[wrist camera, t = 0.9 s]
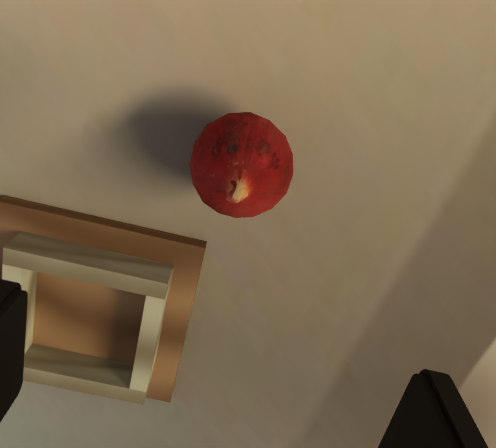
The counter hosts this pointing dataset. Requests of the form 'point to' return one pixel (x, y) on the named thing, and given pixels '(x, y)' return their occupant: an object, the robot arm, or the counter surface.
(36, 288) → the holder
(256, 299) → the counter surface
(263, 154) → the onion
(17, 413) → the counter surface
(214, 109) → the counter surface
